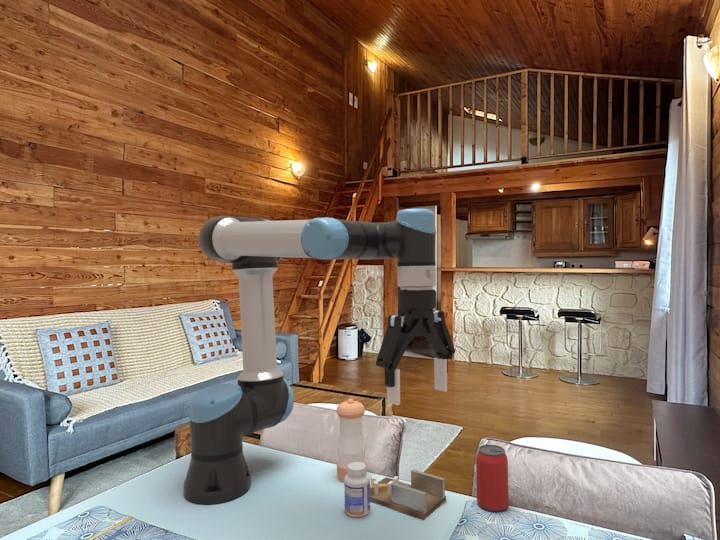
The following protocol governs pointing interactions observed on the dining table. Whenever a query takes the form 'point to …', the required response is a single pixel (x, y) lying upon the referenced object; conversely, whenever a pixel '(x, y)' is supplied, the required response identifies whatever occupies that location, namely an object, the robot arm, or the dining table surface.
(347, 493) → the pill bottle
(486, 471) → the beer can
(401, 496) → the end holder
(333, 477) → the dining table surface
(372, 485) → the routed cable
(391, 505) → the board
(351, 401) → the pepper shaker
